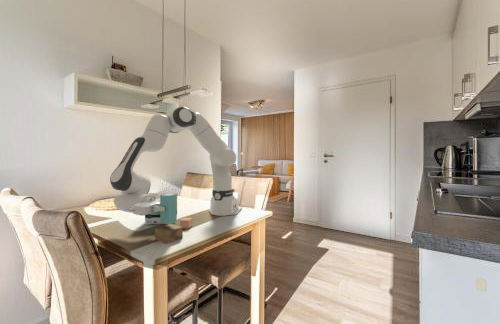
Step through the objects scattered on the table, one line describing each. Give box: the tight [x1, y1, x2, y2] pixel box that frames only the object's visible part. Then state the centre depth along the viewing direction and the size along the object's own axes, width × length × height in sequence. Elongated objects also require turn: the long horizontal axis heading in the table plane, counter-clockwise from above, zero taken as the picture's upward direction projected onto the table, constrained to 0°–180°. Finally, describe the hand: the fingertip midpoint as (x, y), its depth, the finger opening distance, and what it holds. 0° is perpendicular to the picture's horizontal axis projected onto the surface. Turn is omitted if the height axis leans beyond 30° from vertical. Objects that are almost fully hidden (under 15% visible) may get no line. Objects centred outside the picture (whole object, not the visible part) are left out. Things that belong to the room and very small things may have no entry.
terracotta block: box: [179, 217, 193, 229], centre depth 121 cm, size 4×4×4 cm
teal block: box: [160, 192, 177, 225], centre depth 104 cm, size 4×4×12 cm
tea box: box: [144, 192, 178, 226], centre depth 129 cm, size 15×10×15 cm, turn 101°
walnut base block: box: [154, 224, 184, 245], centre depth 105 cm, size 8×8×5 cm
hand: (169, 207), depth 104 cm, fingers closed on teal block, 4 cm apart
